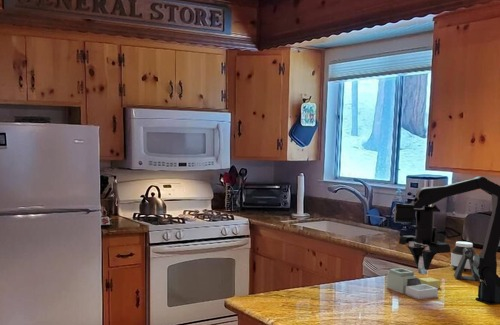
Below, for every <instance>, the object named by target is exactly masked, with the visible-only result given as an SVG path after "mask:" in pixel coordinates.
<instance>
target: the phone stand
mask: <svg viewBox="0 0 500 325" xmlns="http://www.w3.org/2000/svg"><path fill="white" fill-rule="evenodd" d="M468 249H469V248H468ZM469 250H470V249H469ZM467 251H468V250H467V249H466V248H464V249H463V255H462V258H461V260H460V262H459V264H458V266H457V269H455V271H454V273H453V276H454V278H455V280H460V281H471V282H472V281H474V282H480V281H481V280H480V278H479V276H478V275H477V274H476V273H475V272H474V269H473V267H474V266H473V265H472V263H473V262H474V261H473V252H472V251H471V250H470V253H469V254H467V255H466V252H467ZM467 259H469V263H470V267H471V271H470V272H471V276H469V275H463V273H464V271H463V270H464V267H465V264H466V261H467Z"/></svg>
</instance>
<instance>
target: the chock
mask: <svg viewBox="0 0 500 325" xmlns="http://www.w3.org/2000/svg"><path fill="white" fill-rule="evenodd" d="M417 278H418V277H417ZM418 279H419V280H420V282H421V285H422V284H426V285H429V286H432V287H435V288H438V289H440V288H441V280H440V279H437V278H434V277H429V276H428V277H419V278H418Z"/></svg>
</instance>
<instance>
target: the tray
mask: <svg viewBox="0 0 500 325" xmlns="http://www.w3.org/2000/svg"><path fill="white" fill-rule="evenodd" d="M405 296H408V297H410V298H413V299H415V300H424V299H425V300H426V299H434V298H438V296H439V288H435V287H432V286H429V285H426V284H422V285H413V286H406V293H405Z"/></svg>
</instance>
